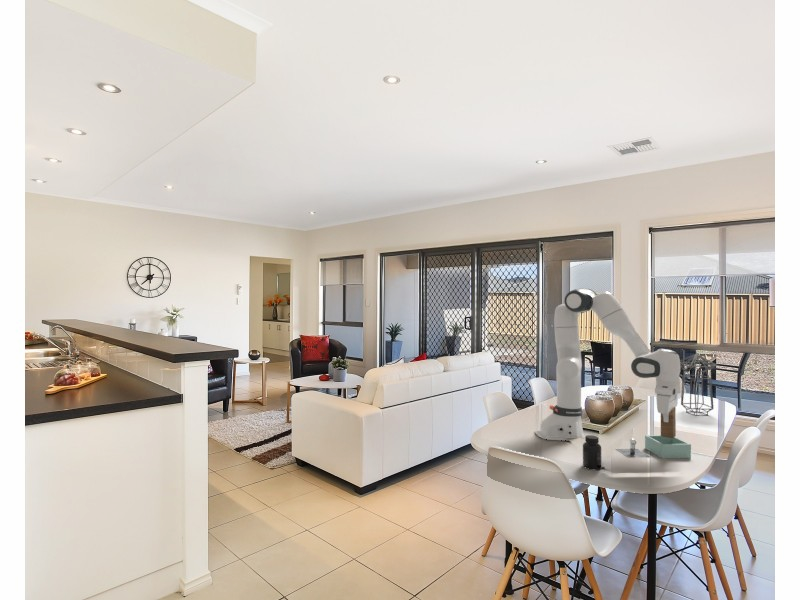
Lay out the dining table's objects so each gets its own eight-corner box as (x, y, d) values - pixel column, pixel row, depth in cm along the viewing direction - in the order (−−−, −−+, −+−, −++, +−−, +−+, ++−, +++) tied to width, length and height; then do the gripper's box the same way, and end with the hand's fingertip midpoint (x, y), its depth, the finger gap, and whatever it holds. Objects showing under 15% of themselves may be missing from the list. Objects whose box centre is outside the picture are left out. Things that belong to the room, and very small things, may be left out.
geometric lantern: (719, 417, 250) (719, 356, 250) (691, 418, 251) (691, 356, 250) (701, 410, 266) (701, 352, 265) (674, 410, 267) (674, 352, 266)
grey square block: (627, 461, 182) (628, 442, 182) (614, 452, 192) (615, 435, 192) (651, 460, 183) (651, 442, 183) (637, 452, 193) (637, 435, 193)
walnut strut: (673, 438, 185) (673, 409, 185) (660, 436, 188) (660, 407, 188) (675, 435, 188) (675, 407, 188) (663, 433, 191) (663, 405, 191)
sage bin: (662, 461, 182) (662, 444, 182) (644, 451, 194) (645, 435, 194) (690, 461, 182) (690, 444, 182) (671, 451, 194) (671, 435, 194)
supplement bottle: (596, 463, 179) (596, 434, 179) (604, 470, 172) (605, 439, 172) (579, 463, 179) (579, 434, 178) (587, 470, 172) (587, 439, 172)
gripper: (665, 383, 198) (665, 414, 198) (653, 390, 183) (653, 423, 183) (681, 385, 193) (681, 416, 194) (671, 392, 178) (671, 426, 178)
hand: (667, 420), depth 188 cm, fingers closed on walnut strut, 5 cm apart
